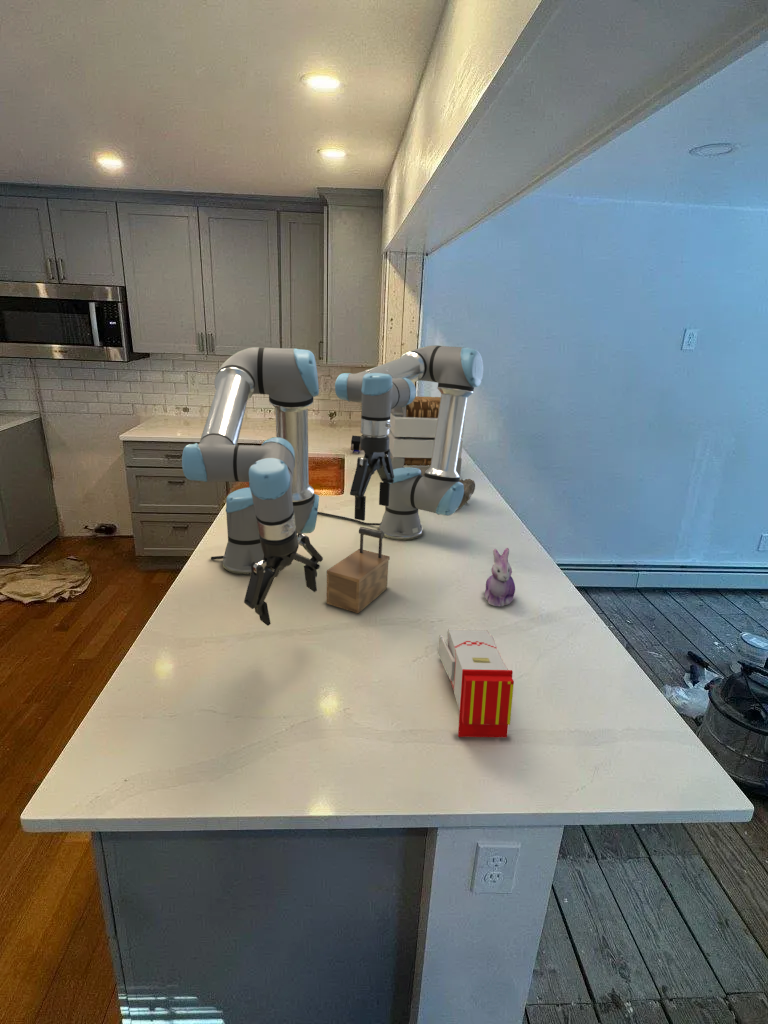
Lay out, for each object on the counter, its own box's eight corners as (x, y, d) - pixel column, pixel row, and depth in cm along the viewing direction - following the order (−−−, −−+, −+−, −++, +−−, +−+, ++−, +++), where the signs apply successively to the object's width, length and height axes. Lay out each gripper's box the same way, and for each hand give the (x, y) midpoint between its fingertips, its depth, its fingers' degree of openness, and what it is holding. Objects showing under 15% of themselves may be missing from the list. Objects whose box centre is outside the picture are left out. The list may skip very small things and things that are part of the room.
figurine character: (362, 457, 305) (363, 447, 318) (362, 443, 301) (363, 434, 315) (350, 456, 304) (351, 447, 318) (350, 443, 301) (351, 434, 314)
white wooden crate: (382, 463, 289) (386, 382, 275) (445, 464, 293) (451, 384, 279) (390, 482, 257) (394, 392, 243) (460, 483, 261) (468, 394, 247)
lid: (359, 551, 162) (360, 523, 159) (389, 559, 158) (391, 530, 155) (326, 573, 148) (326, 543, 145) (359, 583, 144) (360, 551, 141)
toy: (488, 613, 130) (523, 677, 101) (484, 667, 133) (517, 744, 104) (435, 612, 130) (455, 676, 101) (432, 666, 133) (451, 743, 103)
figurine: (497, 611, 151) (503, 559, 146) (474, 594, 159) (479, 545, 154) (524, 604, 155) (532, 554, 150) (501, 588, 163) (507, 540, 158)
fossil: (439, 484, 243) (468, 465, 238) (451, 501, 246) (481, 483, 241) (438, 506, 224) (470, 486, 219) (452, 524, 226) (484, 505, 221)
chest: (357, 580, 165) (357, 552, 162) (387, 588, 161) (388, 560, 158) (326, 603, 151) (326, 574, 148) (358, 613, 147) (359, 583, 144)
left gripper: (238, 571, 105) (255, 646, 118) (334, 510, 120) (340, 583, 133) (214, 553, 109) (233, 628, 122) (310, 497, 124) (318, 568, 137)
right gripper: (364, 445, 134) (361, 529, 142) (408, 429, 155) (404, 502, 163) (337, 441, 138) (335, 522, 145) (384, 425, 159) (381, 497, 166)
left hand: (289, 604), depth 127 cm, fingers open, 13 cm apart
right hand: (372, 512), depth 154 cm, fingers open, 13 cm apart
